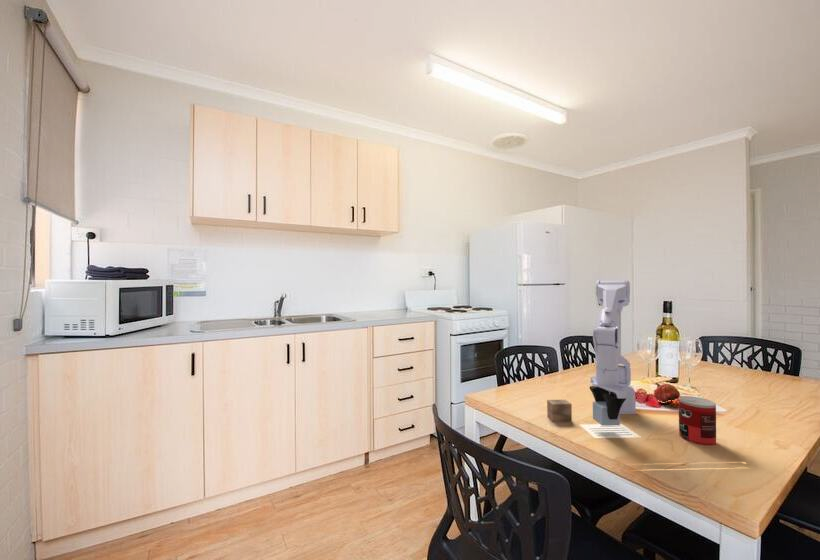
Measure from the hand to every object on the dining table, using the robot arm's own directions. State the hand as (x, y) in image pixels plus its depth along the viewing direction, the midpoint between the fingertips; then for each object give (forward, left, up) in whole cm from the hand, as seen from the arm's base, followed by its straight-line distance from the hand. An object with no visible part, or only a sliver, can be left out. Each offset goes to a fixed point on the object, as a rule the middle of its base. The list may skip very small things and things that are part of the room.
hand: (607, 415), depth 101 cm
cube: (0, 0, -2) cm, 2 cm away
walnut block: (+10, -10, -6) cm, 15 cm away
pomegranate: (-34, -22, -6) cm, 41 cm away
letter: (-1, -1, -5) cm, 5 cm away
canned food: (-22, +5, -6) cm, 23 cm away
